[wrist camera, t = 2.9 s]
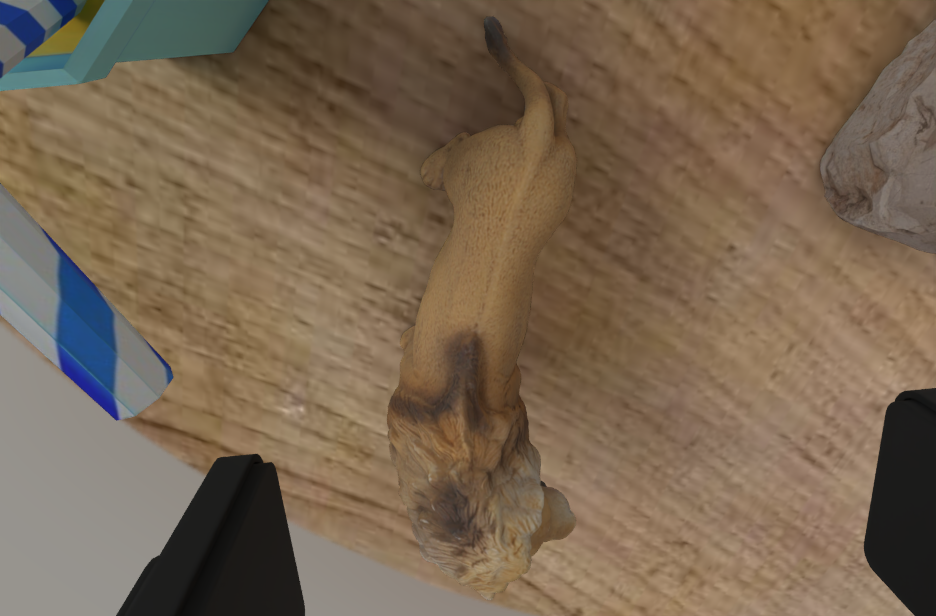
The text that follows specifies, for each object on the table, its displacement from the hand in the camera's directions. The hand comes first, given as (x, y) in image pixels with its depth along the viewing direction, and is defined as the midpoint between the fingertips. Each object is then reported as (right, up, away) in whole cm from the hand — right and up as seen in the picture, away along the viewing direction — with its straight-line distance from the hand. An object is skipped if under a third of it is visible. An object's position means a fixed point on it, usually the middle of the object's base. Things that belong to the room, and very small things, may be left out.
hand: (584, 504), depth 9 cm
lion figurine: (-1, +5, +12) cm, 13 cm away
